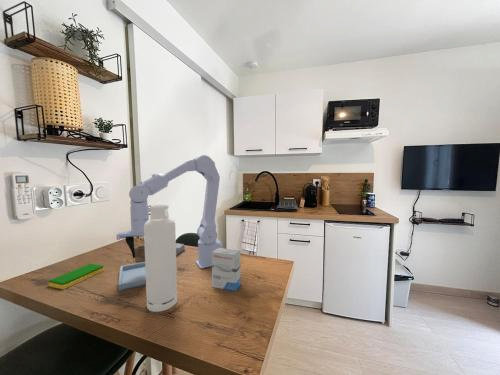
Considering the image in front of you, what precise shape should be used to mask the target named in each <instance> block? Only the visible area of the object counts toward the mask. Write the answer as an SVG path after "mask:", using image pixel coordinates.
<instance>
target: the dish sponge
mask: <svg viewBox="0 0 500 375" xmlns="http://www.w3.org/2000/svg"><path fill="white" fill-rule="evenodd" d="M104 271H105V270H104V265H102V264H96V263H89V264H86V265H84V266H81V267H79V268H76V269H74V270H72V271H69V272H66V273H63V274H62V275H59V276H57V277H53V278H51V279H49V280H48V286H49V287H50V288H56V289H60V290H65V289H68V288H69V287H71V286H74V285H76V284H78V283H80V282H83V281H84V280H86V279H89V278H92V277H94V276H96V275H97V274H101V273H103V272H104Z"/></svg>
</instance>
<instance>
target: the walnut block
mask: <svg viewBox="0 0 500 375" xmlns="http://www.w3.org/2000/svg"><path fill="white" fill-rule="evenodd" d="M134 249H135V258H134V261H135V262H134V264H136V263H141V262H145V244H142V245H139V244H138V245H134Z"/></svg>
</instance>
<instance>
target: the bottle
mask: <svg viewBox="0 0 500 375" xmlns="http://www.w3.org/2000/svg"><path fill="white" fill-rule="evenodd" d="M149 210H150V212H149V213H150V214H149V215H150V216H149V220H148V221H147V222H146V223H145V224H144V236H143V237H144V238H143V240H144V241H143V242H144V244H143V245H145V270H146V285H145V291H146V292H145V294H146V295H145V296H146V308H147V310H149V311H150V312H153V313H158V312H164V311H166V310H168V309H171V308H173V307H174V306H175V305H176V303H178V278H177V277H178V274H177V273H178V271H177V256H176V243H177V242H176V241H177V240H176V222H175V220H173V219H172V218H171V217H170V216H169V205H168V204H155V205H151V206H150V205H149Z"/></svg>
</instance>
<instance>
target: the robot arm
mask: <svg viewBox="0 0 500 375" xmlns="http://www.w3.org/2000/svg"><path fill="white" fill-rule="evenodd" d="M217 169H218V168H217V167H216V162H215V161H214V160H213V159H212V158H211V157H210V156H209V155H205V154H204V155H200V156H198V157H195V158H192V159H189V160H187V161H184V162H183V163H181V164H179V165H177V166H176V167H174V168H172V169H171V170H169V171H168V172H166V173H164V174H163V173H156V174H155V173H153V174H151V177H150V178H147V179H145V180H143V181H139V182H138V183H139V184H138V185H137V184H136V185H134V186H133V187H131V188H130V189H129V193H128V196H129V198H130V212H129V213H130V228H131V230H128V231H122V232H116V240H117V241H118V240H121V239H125V243H126V244H127V246H128V248H129V249H130V253H131V255H132V258H133V259H135V238H138V237H144V224H145V223H146V222H147V221H148V220H150V216H149V215H150V214H149V213H150V212H149V204H148V197H149V196H153V195H155V194H158V192H160V191H163V190H164V189H166V188H167V187H168V184H169V182H170V181H172V180H174V179H176V178H178V177H179V176H182V175H183V174H185V173H187V172H195V171H196V173H199V174H201V175H202V176H203V177H204V180H206V186H205V194H204V200H203V201H204V202H203V208H202V209H203V211H202V217H201V220H200V224H199V226H198V228H197V230H196V231H197V232H196V234H197V236H198V237H199V239H198V241H197V246H198V247H197V248H198V249H197V253H198V259H196V260H195V263H196V264H197V266H198V267H199V269H205V268H210V267H211V268H212V253H211V252H213V251H214V250H216V249H217V248H223V244H222V242H221V240H217V239H218V233H217V225H216V220H215V219H216V213H217V212H216V211H217V204H218V195H219V187H220V179H221V178H220V177H221V176H220V173H219V172H218V170H217Z"/></svg>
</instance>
